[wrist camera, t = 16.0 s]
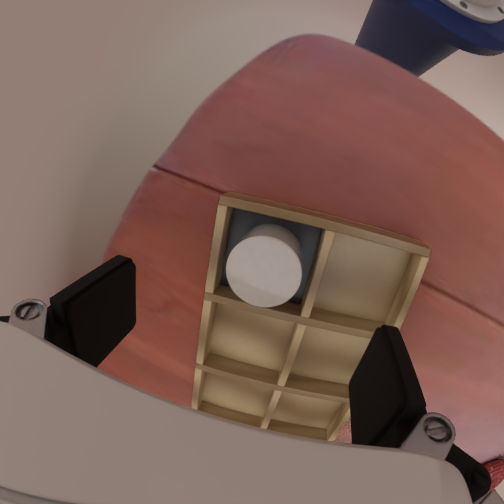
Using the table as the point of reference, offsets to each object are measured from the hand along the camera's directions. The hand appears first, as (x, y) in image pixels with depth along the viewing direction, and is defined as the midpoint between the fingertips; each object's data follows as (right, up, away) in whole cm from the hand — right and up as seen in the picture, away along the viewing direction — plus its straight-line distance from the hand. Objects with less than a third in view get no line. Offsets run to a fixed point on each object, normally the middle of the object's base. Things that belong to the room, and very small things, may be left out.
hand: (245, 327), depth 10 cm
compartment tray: (+3, -4, +12) cm, 13 cm away
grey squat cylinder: (+1, +2, +9) cm, 10 cm away
